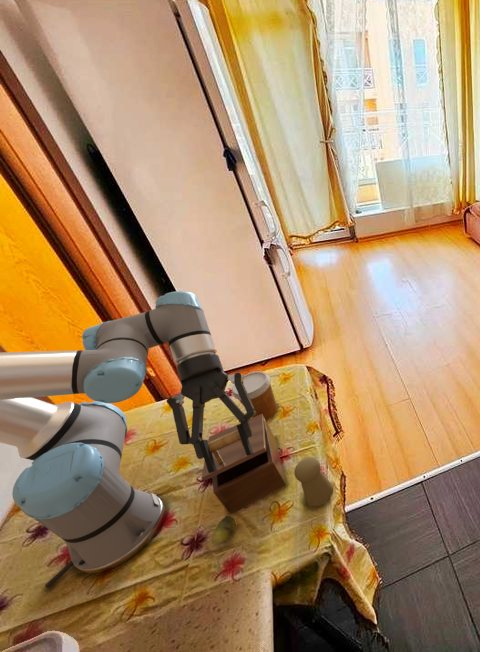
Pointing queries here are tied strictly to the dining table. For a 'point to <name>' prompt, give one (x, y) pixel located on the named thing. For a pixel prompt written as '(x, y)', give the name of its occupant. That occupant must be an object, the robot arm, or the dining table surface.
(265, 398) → the disposable coffee cup
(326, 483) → the tan rounded upright piece
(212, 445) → the lid
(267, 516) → the dining table surface
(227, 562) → the dining table surface
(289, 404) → the dining table surface
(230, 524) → the lime
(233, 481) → the box
